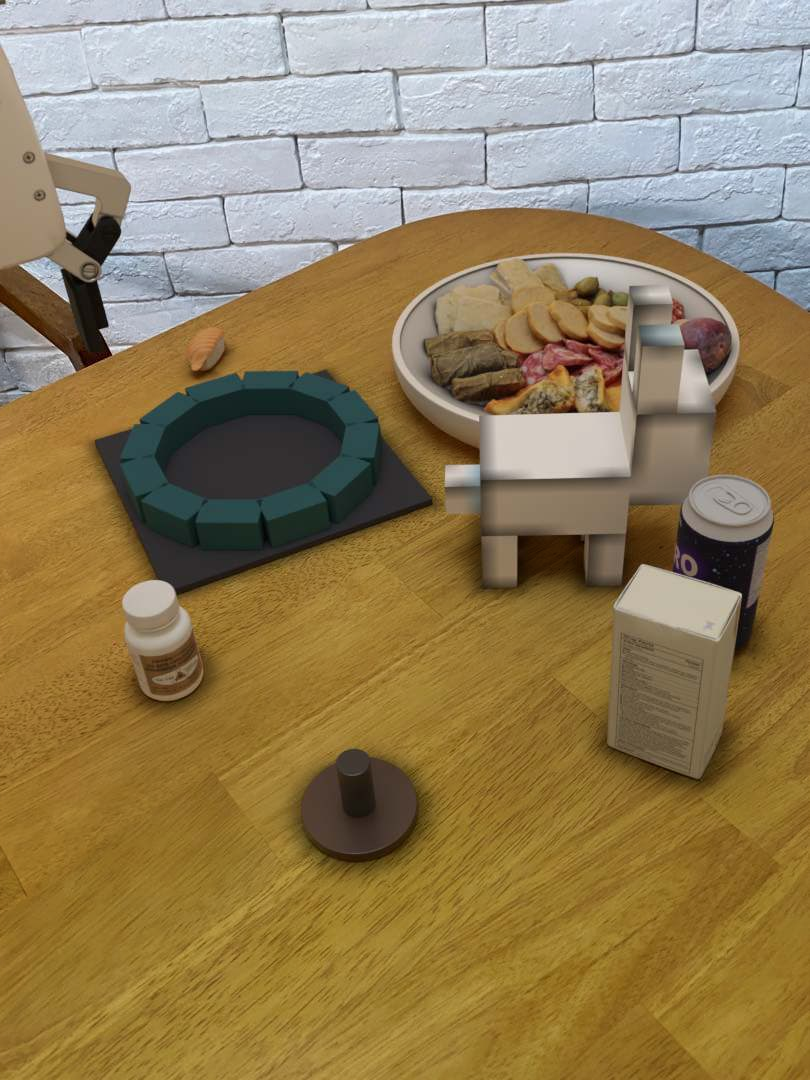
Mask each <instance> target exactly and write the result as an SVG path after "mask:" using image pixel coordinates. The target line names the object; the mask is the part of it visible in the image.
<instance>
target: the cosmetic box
mask: <svg viewBox="0 0 810 1080" xmlns="http://www.w3.org/2000/svg"><path fill="white" fill-rule="evenodd" d="M741 599H742V594H741V593H739V592H736V591H733V590H730V589H727V588H724V587H721V586H718V585H715V584H711V583H708V582H705V581H701V580H698V579H695V578H691V577H688V576H684V575H681V574H677V573H674V572H672V570H671V571H670V570H668V569H667V570H666V569H664V568H660V567H655V566H652V565H648V564H645V563H642V564H640V565H639V567H638V568H637V570H636V572H635V573H634V574H633V575H632V577H631V578H630V579H629V581H628V582H627V584H626V586H625V587H624V589H623V590H622V592H620V595H619V596H618V598H617V599H616V601H615V602H614V604H613V608H612V609H613V610H612V633H611V652H610V653H611V654H610V675H609V697H608V711H607V712H608V715H607V717H608V718H607V719H608V720H607V734H606V735H607V737H606V744H607V746H608V747H610V748H613V749H615V750H618V751H620V752H623V753H625V754H626V755H629V756H632V757H635V758H637V759H640V760H643V761H645V762H649V763H652V764H654V765H656V766H659V767H661V768H664V769H667V770H670V771H673V772H676V773H679V774H681V775H684V776H687V777H690V778H693V779H695V780H700V779H701V777H702V776H703V774H704V773H705V770H706V769H707V767H708V765H709V762H710V760H711V759H712V757H713V754H714V752H715V750H716V748H717V746H718V743H719V741H720V738H721V736H722V734H723V726H724V722H725V721H724V720H725V714H726V707H727V701H728V694H729V687H730V681H731V673H732V667H733V661H734V654H735V652H734V649H735V642H736V635H737V628H738V621H739V614H740V607H741Z"/></svg>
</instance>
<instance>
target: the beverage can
mask: <svg viewBox="0 0 810 1080" xmlns="http://www.w3.org/2000/svg"><path fill="white" fill-rule="evenodd" d="M771 505H772V502H771V498H770V496H769V494H768V492H767V491H766V489H764V488H763V487H762V486H761V485H760V484H759V483H757V482H755V481H753V480H751V479H749V478H746V477H743V476H739V475H734V474H715V475H714V474H713V475H710V476H707V478H704V479H702V480H700V481H698V482H697V483H695V484H694V486H693V487H692V488H691V490H690V492H689V496H688V497H687V498H686V499H685V500H684V502H683V503H682V505H680V510H679V517H678V525H677V532H676V539H675V540H676V541H675V547H674V554H673V555H674V556H673V562H672V570H671V572H674V573H677V574H681V575H684V576H688V577H691V578H695V579H698V580H701V581H705V582H708V583H711V584H715V585H718V586H721V587H724V588H727V589H730V590H733V591H736V592H739V593H741V594H742V599H741V607H740V614H739V621H738V628H737V635H736V642H735V649H734V653H735V652H737V651H739V650H741V649H743V647H745V646H746V645H747V644H748V643H749V641H750V639H751V637H752V634H753V629H754V623H755V620H756V614H757V609H758V603H759V598H760V593H761V589H762V584H763V578H764V573H765V569H766V563H767V559H768V555H769V554H768V553H769V549H770V544H771V540H772V535H773V529H774V524H775V515H774V512H773V510H772V507H771Z"/></svg>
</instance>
